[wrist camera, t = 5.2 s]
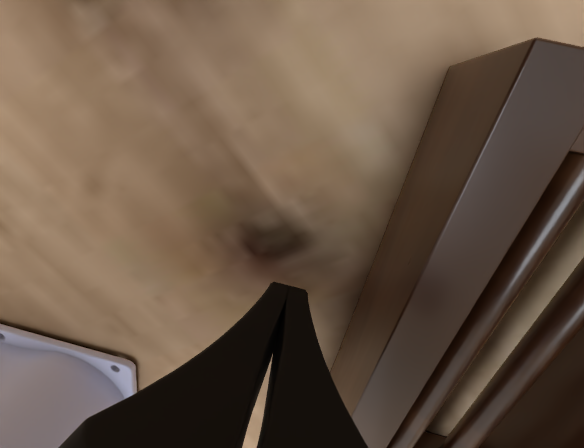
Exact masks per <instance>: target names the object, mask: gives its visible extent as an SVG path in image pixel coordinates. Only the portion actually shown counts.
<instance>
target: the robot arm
mask: <svg viewBox="0 0 584 448" xmlns="http://www.w3.org/2000/svg"><path fill="white" fill-rule="evenodd" d="M272 354H273V358H272V364H271V371H270V377H269V384H268V390H267V397H266V404H265V410H264V416H263V422H262V427H261V432H260V436H259V441H258V445H257V448H369V447H368V446H367V444H366V443H365V441H364V439H363V437H362V436H361V434H360V432H359V430H358V428H357V427H356V425H355V423H354V421H353V419H352V417H351V416H350V414H349V412H348V410H347V408H346V407H345V405H344V403H343V401H342V398H341V396H340V394H339V392H338V390H337V388H336V386H335V384H334V381H333V379H332V377H331V375H330V372H329V370H328V367H327V365H326V362H325V360H324V357H323V354H322V351H321V349H320V346H319V343H318V339H317V336H316V333H315V329H314V326H313V322H312V318H311V313H310V308H309V302H308V293H307V291H306V290H304V289H300V288H296V287H292V286H288V285H284V284H281V283H277V282H273V283H271V284H270V286H269V287H268V289H267V290H266V291H265V293H264V294H263V295H262V297H261V298H260V299H259V300H258V301H257V302H256V304H255V305H254V306H253V307H252V308H251V309H250V310H249V311H248V312H247V313H246V314H245V315H244V316H243V317H242V318H241V319H240V320H239V321H238V322H237V323H236V324H235V325H234V326H233V327H231V328H230V329H229V330H228V331H227V332H226V333H225V334H224V335H222V336H221V337H220V338H219V339H218V340H216V341H215V342H214V343H213V344H211V345H210V346H209V347H207V348H206V349H205V350H203V351H202V352H201V353H199V354H198V355H196V356H195V357H194V358H192V359H191V360H189V361H188V362H187V363H185V364H184V365H182V366H181V367H179V368H177V369H176V370H174V371H173V372H171V373H169V374H168V375H166V376H164V377H163V378H161V379H159V380H158V381H156V382H154V383H153V384H151V385H149V386H148V387H146V388H144V389H143V390H141V391H139V392H137V382H136V367H135V364H134V363H133V362H132V361H130V360H127V359H124V358H120V357H117V356H113V355H110V354H106V353H102V352H99V351H95V350H92V349H88V348H85V347H81V346H78V345H74V344H70V343H67V342H63V341H60V340H56V339H53V338H49V337H45V336H42V335H38V334H35V333H31V332H28V331H24V330H21V329H17V328H13V327H10V326H6V325H3V324H0V448H242V446H243V442H244V438H245V435H246V431H247V427H248V424H249V421H250V417H251V414H252V411H253V408H254V405H255V403H256V400H257V397H258V394H259V391H260V388H261V386H262V383H263V380H264V377H265V374H266V371H267V369H268V366H269V363H270V360H271V357H272Z"/></svg>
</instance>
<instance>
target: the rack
mask: <svg viewBox="0 0 584 448" xmlns="http://www.w3.org/2000/svg"><path fill="white" fill-rule="evenodd" d="M583 200H584V47H580V46H576V45H571V44H566V43H561V42H557V41H552V40H547V39H542V38H538V37H537V38H533V39H530V40H527V41H524V42H521V43H518V44H515V45H512V46H509V47H507V48H504V49H501V50H498V51H495V52H492V53H489V54H486V55H483V56H480V57H477V58H474V59H471V60H468V61H465V62H462V63H459V64H456V65H453V66H450V68H449V70H448V73H447V75H446V78H445V80H444V83H443V85H442V88H441V90H440V93H439V96H438V98H437V101H436V103H435V106H434V108H433V111H432V114H431V116H430V119H429V121H428V124H427V126H426V129H425V132H424V134H423V137H422V139H421V142H420V144H419V147H418V149H417V152H416V155H415V157H414V160H413V162H412V165H411V167H410V170H409V173H408V175H407V178H406V180H405V183H404V185H403V188H402V191H401V193H400V196H399V198H398V201H397V203H396V206H395V208H394V211H393V214H392V216H391V219H390V221H389V224H388V226H387V229H386V232H385V234H384V237H383V239H382V242H381V244H380V247H379V250H378V252H377V255H376V257H375V260H374V262H373V265H372V267H371V270H370V273H369V275H368V278H367V280H366V283H365V285H364V288H363V291H362V293H361V296H360V298H359V301H358V303H357V306H356V309H355V311H354V314H353V316H352V319H351V321H350V324H349V326H348V329H347V332H346V334H345V337H344V339H343V342H342V344H341V347H340V350H339V352H338V355H337V357H336V360H335V362H334V365H333V368H332V370H331V373H330V375H331V377H332V379H333V381H334V384H335V386H336V388H337V390H338V392H339V394H340V396H341V398H342V401H343V403H344V405H345V407H346V408H347V410H348V412H349V414H350V416H351V417H352V419H353V421H354V423H355V425H356V427H357V428H358V430H359V432H360V434H361V436H362V437H363V439H364V441H365V443H366V444H367V446H368V447H369V448H584V258H583V259H582V260H581V262H580V263H579V264H578V265H577V267H576V268H575V269H574V271H573V272H572V273H571V275H570V276H569V277H568V279H567V280H566V281H565V283H564V284H563V285H562V287H561V288H560V289H559V291H558V292H557V293H556V295H555V296H554V297H553V298H552V300H551V301H550V302H549V304H548V305H547V306H546V308H545V309H544V310H543V312H542V313H541V314H540V316H539V317H538V318H537V320H536V321H535V322H534V324H533V325H532V326H531V327H530V329H529V330H528V331H527V333H526V334H525V335H524V337H523V338H522V339H521V341H520V342H519V343H518V345H517V346H516V347H515V349H514V350H513V351H512V353H511V354H510V355H509V356H508V358H507V359H506V360H505V362H504V363H503V364H502V366H501V367H500V368H499V370H498V371H497V372H496V374H495V375H494V376H493V378H492V379H491V380H490V382H489V383H488V384H487V386H486V387H485V388H484V389H483V391H482V392H481V393H480V395H479V396H478V397H477V399H476V400H475V401H474V403H473V404H472V405H471V407H470V408H469V409H468V411H467V412H466V413H465V415H464V416H463V417H462V418H461V420H460V421H459V422H458V424H457V425H456V426H455V428H454V429H453V430H452V432H451V433H450V434H449V436H448V437H447V438H446V437H443V436H439V435H435V434H432V433H428V432H425V430H426V428H427V427H428V425H429V424H430V423H431V421H432V420H433V418H434V417H435V415H436V414H437V412H438V411H439V409H440V408H441V407H442V405H443V404H444V402H445V401H446V399H447V398H448V396H449V395H450V393H451V392H452V391H453V389H454V388H455V386H456V385H457V383H458V382H459V380H460V379H461V378H462V376H463V375H464V373H465V372H466V370H467V369H468V367H469V366H470V364H471V363H472V362H473V360H474V359H475V357H476V356H477V354H478V353H479V351H480V350H481V348H482V347H483V346H484V344H485V343H486V341H487V340H488V338H489V337H490V335H491V334H492V332H493V331H494V330H495V328H496V327H497V325H498V324H499V322H500V321H501V319H502V318H503V317H504V315H505V314H506V312H507V311H508V309H509V308H510V306H511V305H512V303H513V302H514V301H515V299H516V298H517V296H518V295H519V293H520V292H521V290H522V289H523V287H524V286H525V285H526V283H527V282H528V280H529V279H530V277H531V276H532V274H533V273H534V271H535V270H536V269H537V267H538V266H539V264H540V263H541V261H542V260H543V258H544V257H545V256H546V254H547V253H548V251H549V250H550V248H551V247H552V245H553V244H554V242H555V241H556V240H557V238H558V237H559V235H560V234H561V232H562V231H563V229H564V228H565V226H566V225H567V224H568V222H569V221H570V219H571V218H572V216H573V215H574V213H575V212H576V210H577V209H578V208H579V206H580V205H581V203H582V202H583Z"/></svg>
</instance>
